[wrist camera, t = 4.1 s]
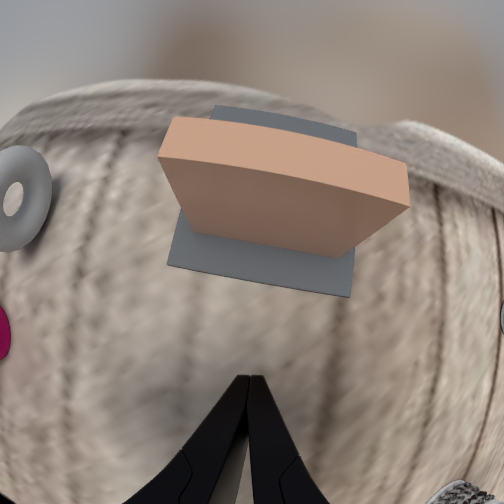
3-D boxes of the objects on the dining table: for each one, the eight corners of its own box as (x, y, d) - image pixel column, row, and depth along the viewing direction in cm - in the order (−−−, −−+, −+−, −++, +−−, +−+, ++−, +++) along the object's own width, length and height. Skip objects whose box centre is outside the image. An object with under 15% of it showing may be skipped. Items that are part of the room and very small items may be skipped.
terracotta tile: (337, 258, 22) (410, 206, 11) (193, 232, 22) (157, 156, 11) (340, 229, 23) (406, 162, 12) (200, 203, 23) (174, 115, 12)
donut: (52, 173, 24) (2, 123, 14) (71, 178, 23) (20, 123, 14) (16, 257, 21) (-48, 228, 11) (34, 267, 21) (-35, 239, 11)
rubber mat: (348, 297, 22) (350, 297, 21) (167, 265, 22) (166, 264, 21) (354, 134, 26) (356, 132, 26) (215, 107, 26) (215, 105, 26)
